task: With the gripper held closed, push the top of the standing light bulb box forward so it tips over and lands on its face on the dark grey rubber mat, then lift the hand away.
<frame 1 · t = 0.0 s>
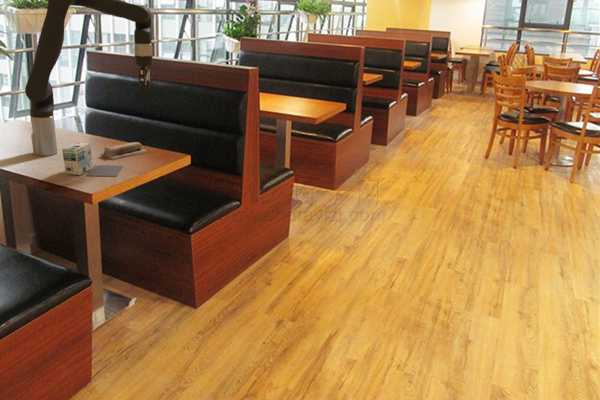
hand: (145, 91, 248), 29 cm above the table, tool pointing down, fingers open, 8 cm apart
mat: (105, 171, 234), on the table
packaged product: (124, 155, 259), on the table
light bulb box: (79, 171, 232), on the table, touching mat
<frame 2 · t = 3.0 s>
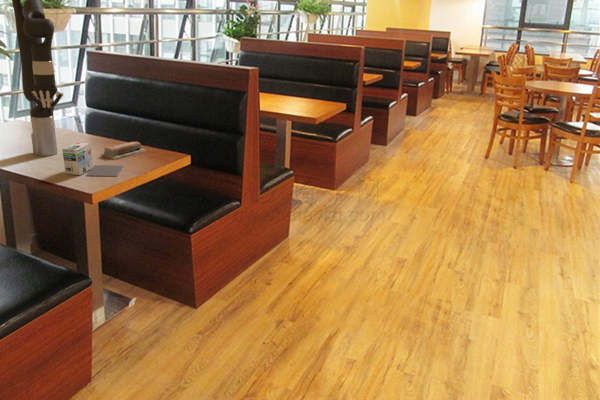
hand: (48, 116, 223), 23 cm above the table, tool pointing down, fingers closed
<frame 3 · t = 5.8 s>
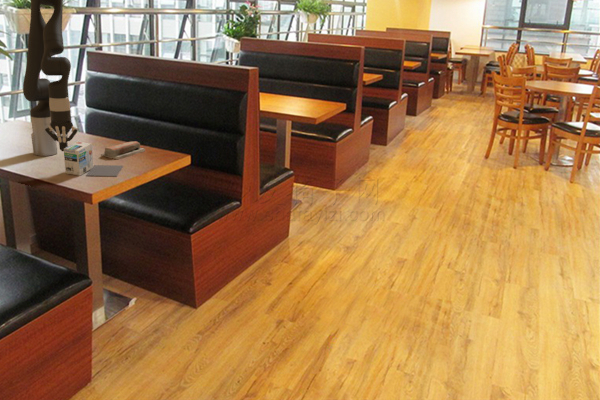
hand: (64, 150, 228), 9 cm above the table, tool pointing down, fingers closed
light bulb box: (79, 171, 232), on the table, touching gripper, mat
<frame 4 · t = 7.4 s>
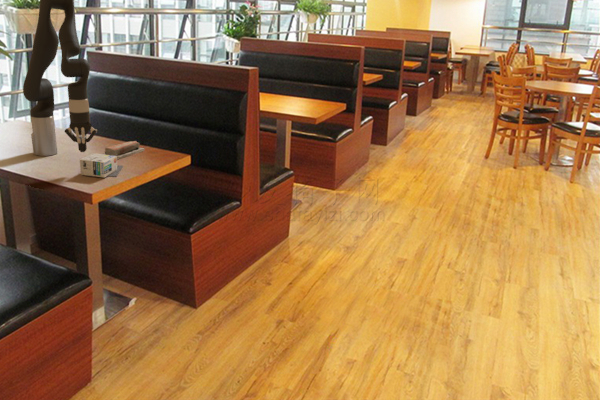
hand: (83, 151, 229), 9 cm above the table, tool pointing down, fingers closed
light bulb box: (86, 163, 230), point 4 cm above the table, touching mat
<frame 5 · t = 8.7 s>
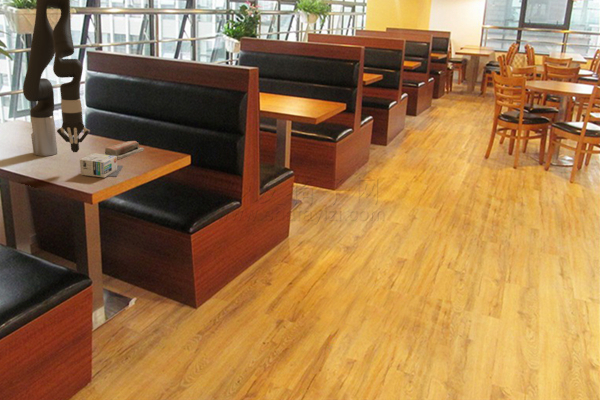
hand: (75, 151, 229), 8 cm above the table, tool pointing down, fingers closed
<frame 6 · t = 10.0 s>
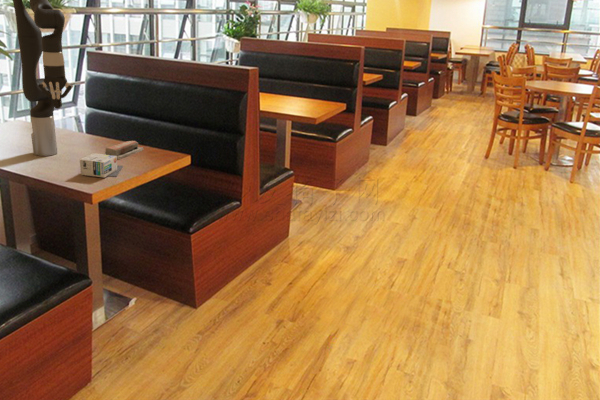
hand: (58, 108, 222), 26 cm above the table, tool pointing down, fingers closed
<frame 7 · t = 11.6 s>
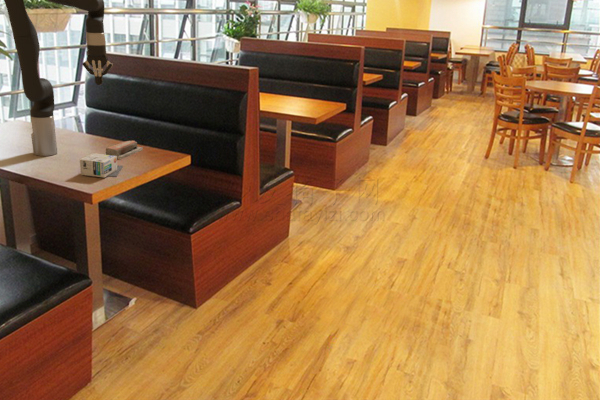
hand: (99, 84, 243), 32 cm above the table, tool pointing down, fingers closed
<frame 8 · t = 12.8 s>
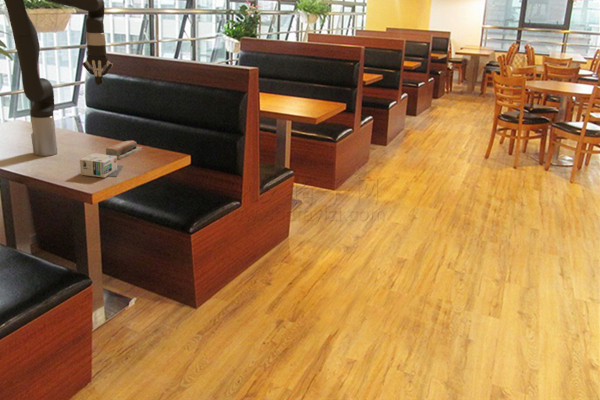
hand: (99, 84, 243), 32 cm above the table, tool pointing down, fingers closed
at the end: light bulb box tilted 91°; light bulb box inside the target area (6.8 cm from its centre), point 3.7 cm above the table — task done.
